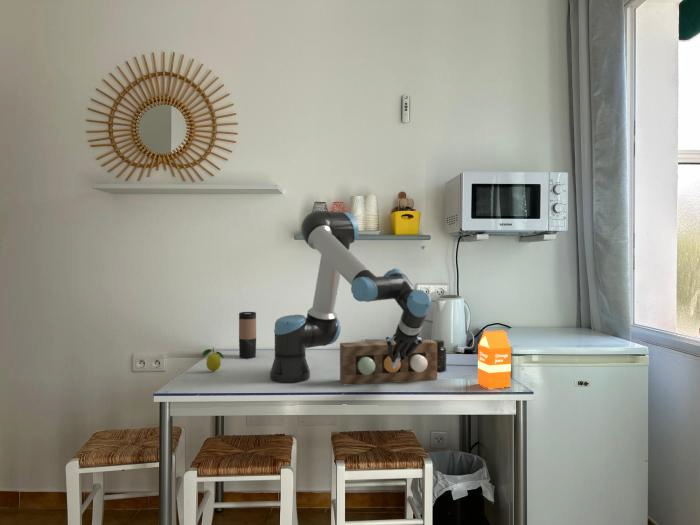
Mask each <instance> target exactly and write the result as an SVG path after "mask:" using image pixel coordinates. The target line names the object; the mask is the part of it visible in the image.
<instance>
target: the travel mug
mask: <svg viewBox="0 0 700 525" xmlns="http://www.w3.org/2000/svg"><path fill="white" fill-rule="evenodd" d="M238 343H239V344H238V346H239V347H238V348H239V349H238V350H239V358H240V359H246V360H247V359H254V358H256V357H257V356H256V355H257V312H256V311H241V312H239V313H238Z"/></svg>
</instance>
